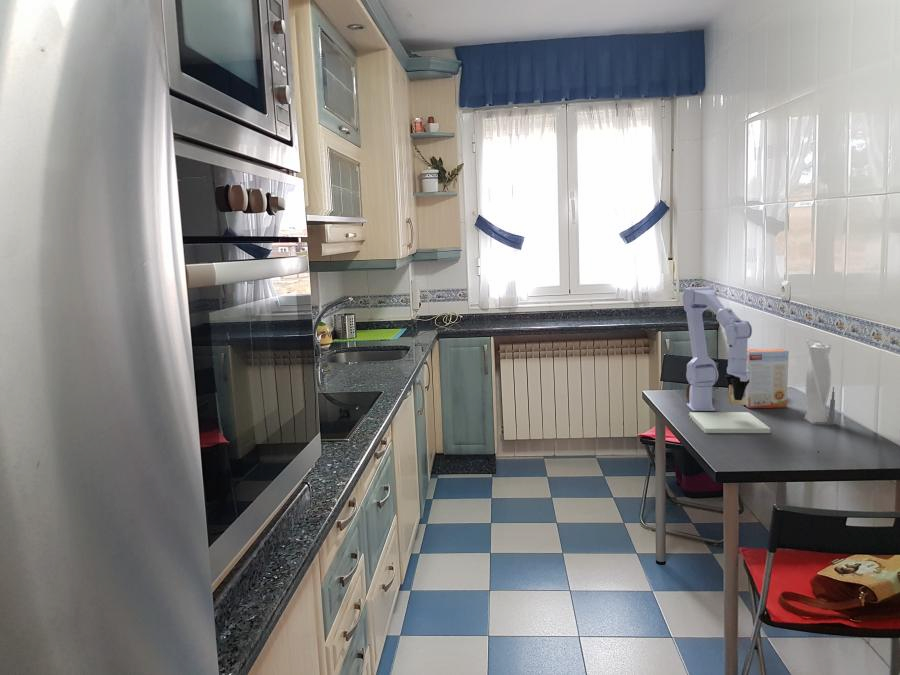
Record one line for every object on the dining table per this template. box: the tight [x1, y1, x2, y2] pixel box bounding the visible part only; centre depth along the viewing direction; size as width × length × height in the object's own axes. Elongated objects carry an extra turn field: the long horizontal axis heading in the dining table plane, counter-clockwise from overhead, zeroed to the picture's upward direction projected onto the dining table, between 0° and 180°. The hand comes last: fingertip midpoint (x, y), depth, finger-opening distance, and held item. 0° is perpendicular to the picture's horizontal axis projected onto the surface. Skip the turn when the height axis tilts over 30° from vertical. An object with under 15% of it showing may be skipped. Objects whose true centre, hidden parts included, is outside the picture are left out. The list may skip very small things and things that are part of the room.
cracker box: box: [745, 348, 790, 409], centre depth 251 cm, size 14×6×21 cm, turn 89°
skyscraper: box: [803, 339, 836, 426], centre depth 230 cm, size 8×8×28 cm
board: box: [688, 411, 771, 434], centre depth 230 cm, size 20×20×2 cm
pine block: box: [728, 385, 746, 406], centre depth 231 cm, size 4×4×6 cm
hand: (735, 398), depth 231 cm, fingers closed on pine block, 4 cm apart
